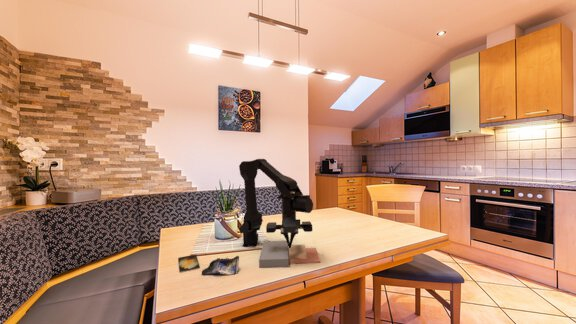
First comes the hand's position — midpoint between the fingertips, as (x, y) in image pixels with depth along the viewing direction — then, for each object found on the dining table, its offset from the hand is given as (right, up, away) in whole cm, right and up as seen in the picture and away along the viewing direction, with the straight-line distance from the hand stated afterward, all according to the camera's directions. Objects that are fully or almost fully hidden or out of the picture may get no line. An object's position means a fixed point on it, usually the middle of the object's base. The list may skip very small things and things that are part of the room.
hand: (289, 247), depth 99 cm
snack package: (-25, -5, -12) cm, 28 cm away
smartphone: (-40, -5, -4) cm, 41 cm away
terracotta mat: (+6, -3, 0) cm, 7 cm away
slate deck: (-6, -4, 0) cm, 7 cm away
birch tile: (+3, -3, 0) cm, 4 cm away
